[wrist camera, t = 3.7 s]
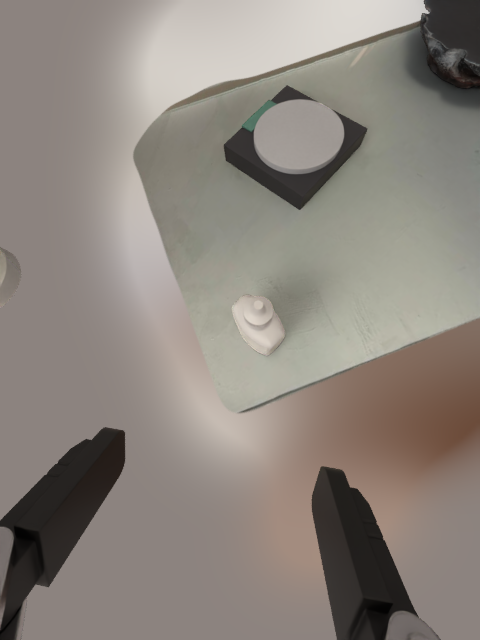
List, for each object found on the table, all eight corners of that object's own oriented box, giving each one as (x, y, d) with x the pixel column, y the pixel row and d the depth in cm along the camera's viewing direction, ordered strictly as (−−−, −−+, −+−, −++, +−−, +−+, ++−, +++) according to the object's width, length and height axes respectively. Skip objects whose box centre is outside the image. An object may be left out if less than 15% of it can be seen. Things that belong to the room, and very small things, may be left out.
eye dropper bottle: (245, 361, 28) (237, 349, 16) (235, 316, 29) (221, 276, 17) (281, 352, 28) (298, 335, 16) (269, 308, 29) (277, 263, 17)
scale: (225, 159, 35) (222, 138, 32) (284, 103, 37) (287, 77, 34) (299, 210, 32) (304, 192, 29) (360, 145, 34) (370, 122, 31)
